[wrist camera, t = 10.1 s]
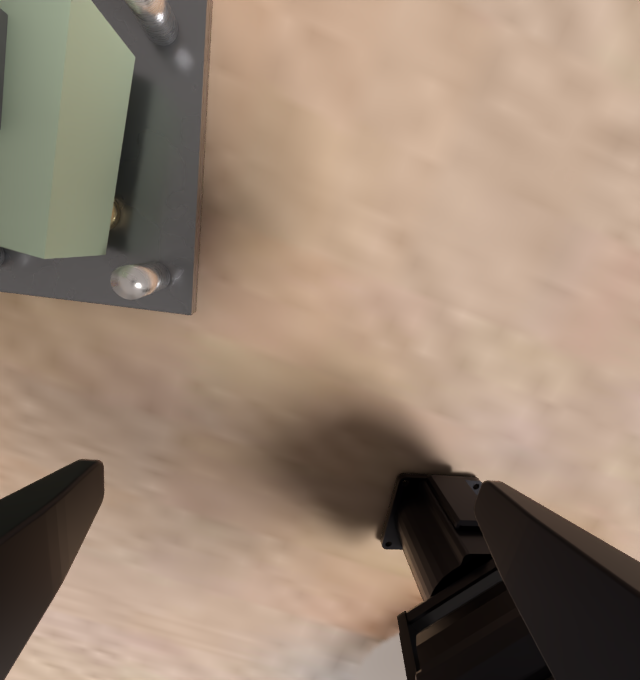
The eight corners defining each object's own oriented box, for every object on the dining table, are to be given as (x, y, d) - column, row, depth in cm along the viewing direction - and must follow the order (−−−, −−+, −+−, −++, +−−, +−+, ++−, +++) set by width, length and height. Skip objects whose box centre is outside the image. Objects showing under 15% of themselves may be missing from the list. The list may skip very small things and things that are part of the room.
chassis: (195, 311, 18) (173, 329, 14) (-32, 282, 16) (-130, 294, 12) (212, 1, 14) (187, -90, 10) (-84, -81, 12) (-247, -227, 8)
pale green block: (105, 255, 15) (31, 260, 10) (-21, 217, 14) (-163, 205, 9) (135, 56, 13) (59, -41, 8) (-10, -4, 12) (-183, -152, 7)
